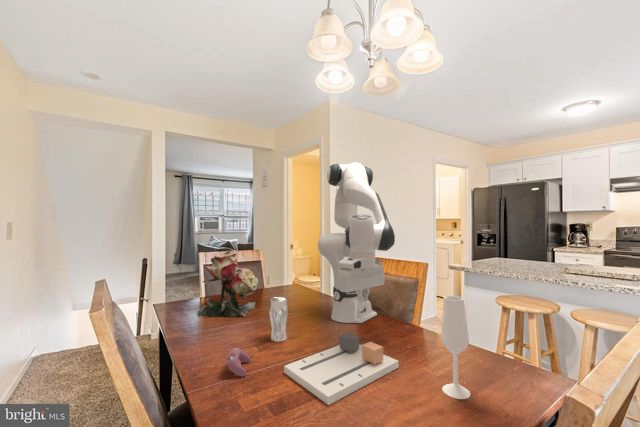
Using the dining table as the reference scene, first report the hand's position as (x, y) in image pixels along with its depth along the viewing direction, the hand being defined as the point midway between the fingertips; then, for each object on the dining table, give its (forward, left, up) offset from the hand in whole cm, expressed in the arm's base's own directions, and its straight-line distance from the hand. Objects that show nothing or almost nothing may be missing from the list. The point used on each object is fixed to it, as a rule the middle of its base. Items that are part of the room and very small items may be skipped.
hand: (363, 301), depth 100 cm
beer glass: (+17, -28, -17) cm, 37 cm away
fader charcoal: (+7, 0, -15) cm, 16 cm away
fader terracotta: (+7, +10, -15) cm, 19 cm away
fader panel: (+15, +5, -17) cm, 23 cm away
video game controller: (+38, -16, -17) cm, 45 cm away
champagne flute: (0, +32, -17) cm, 36 cm away
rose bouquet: (+15, -77, -17) cm, 80 cm away
